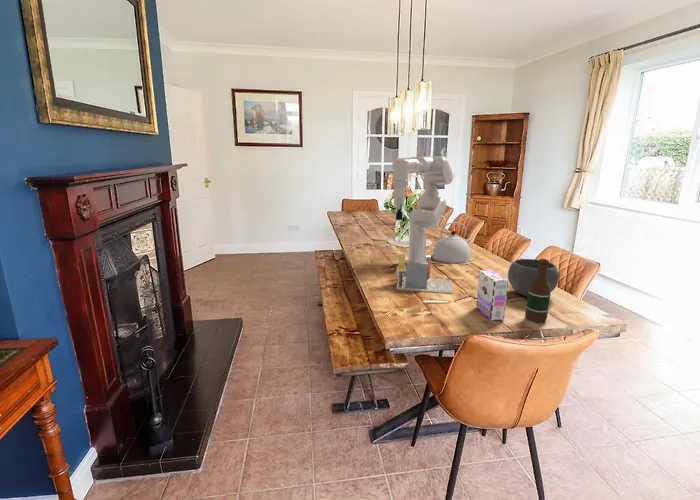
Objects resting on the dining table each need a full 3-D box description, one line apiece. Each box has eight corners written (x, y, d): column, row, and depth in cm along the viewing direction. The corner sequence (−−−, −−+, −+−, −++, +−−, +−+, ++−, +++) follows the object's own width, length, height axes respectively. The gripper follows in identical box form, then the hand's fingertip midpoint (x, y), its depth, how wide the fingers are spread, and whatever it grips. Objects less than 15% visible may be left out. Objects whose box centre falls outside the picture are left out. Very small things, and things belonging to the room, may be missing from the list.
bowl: (566, 300, 165) (571, 268, 161) (527, 305, 159) (532, 271, 155) (532, 285, 184) (536, 256, 180) (496, 289, 178) (500, 259, 174)
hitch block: (450, 281, 189) (452, 263, 187) (453, 293, 172) (454, 274, 170) (398, 277, 194) (399, 260, 192) (396, 289, 177) (397, 270, 175)
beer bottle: (537, 324, 141) (546, 263, 135) (520, 317, 148) (527, 258, 142) (551, 320, 145) (560, 261, 139) (533, 313, 151) (541, 256, 145)
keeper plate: (405, 267, 185) (406, 253, 183) (405, 271, 178) (405, 257, 176) (397, 266, 186) (398, 253, 184) (396, 271, 179) (397, 256, 177)
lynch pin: (429, 278, 184) (430, 256, 181) (429, 282, 179) (430, 259, 176) (396, 276, 187) (397, 255, 184) (395, 280, 182) (396, 257, 179)
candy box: (504, 321, 144) (509, 280, 140) (489, 321, 144) (494, 280, 140) (488, 306, 157) (492, 269, 153) (475, 307, 157) (478, 269, 153)
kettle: (459, 252, 247) (462, 218, 241) (481, 261, 226) (485, 224, 220) (425, 254, 239) (427, 220, 234) (445, 264, 218) (448, 226, 213)
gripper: (394, 182, 198) (393, 217, 202) (391, 184, 184) (390, 221, 188) (408, 182, 196) (407, 217, 201) (407, 185, 182) (405, 222, 187)
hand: (399, 219), depth 195 cm, fingers closed
